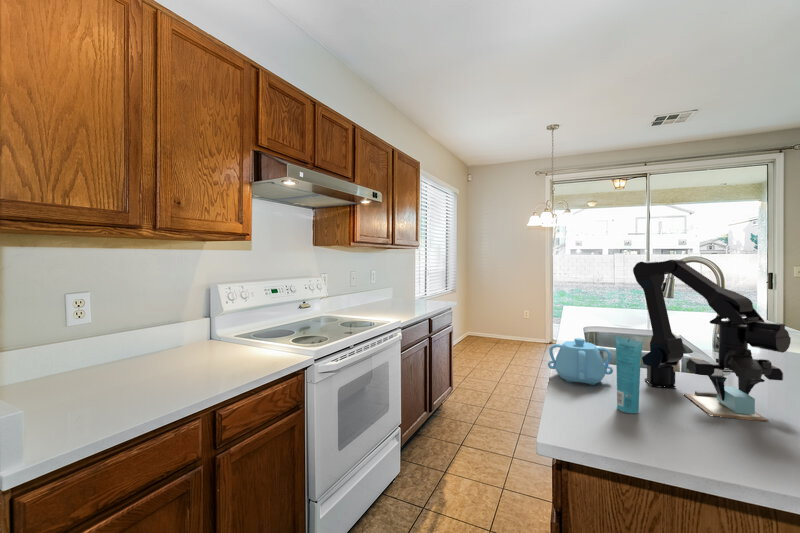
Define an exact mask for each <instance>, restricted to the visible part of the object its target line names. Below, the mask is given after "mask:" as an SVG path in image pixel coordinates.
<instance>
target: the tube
mask: <svg viewBox="0 0 800 533" xmlns="http://www.w3.org/2000/svg"><path fill="white" fill-rule="evenodd" d="M614 340H615V360H616V363H615V364H616V408H617V409H618V411H620V412H623V413H625V414H638V413H639V410H640V380H641V365H642V364H641V363H642V353H643V344H644V341H641V340H640V341H639V340H636V339H631V338H627V337H622V336H618V335H615V338H614Z"/></svg>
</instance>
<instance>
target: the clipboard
mask: <svg viewBox="0 0 800 533" xmlns="http://www.w3.org/2000/svg"><path fill="white" fill-rule="evenodd" d="M683 394H684V395H685V396H686V397H685V396H684V395H683ZM682 395H683V396H684V397H685V398H687V397H688V398H689V399H690V400H692V401H693V402H694V403H695V404H694V403H693V402H692V401H691V402H692V403H693V404H694V405H695V406H697V405H698V406H699V407H700V408H699V407H698V406H697V407H698V408H699V409H701V408H702V409H703V410H704V411H705V412H704V411H703V410H702V409H701V410H702V411H703V412H704V413H706V412H707V413H708V414H710V415H713V416H721V417H720V418H722V417H729V418H728V419H733V418H736V420H744V419H746V420H745V421H755V422H765V421H769V422H770V420H769V419H767V418H766V417H765V416H763V415H762V414H760V413H758V412H756V411H755V415H754V414H743V413H735V412H733V411H732V410H731V409H729V408H728V407H726V406H725V405H723V404H722V403H720V402H719V401H718V400H717V392H713V391H701V390H698V391H697V390H695V391H694V393H688V392H687V393H684V392H683V393H682ZM688 398H687V399H688ZM689 399H688V400H689ZM690 400H689V401H690ZM707 413H706V414H707ZM708 414H707V415H708ZM710 415H709V416H710Z"/></svg>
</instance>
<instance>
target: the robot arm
mask: <svg viewBox="0 0 800 533" xmlns="http://www.w3.org/2000/svg"><path fill="white" fill-rule="evenodd" d="M632 273H633V275H634V279H635V281H636V282H637V284H638V285H639V286H640V288H642V290H643V293H644V297H645V303H646V307H647V312H648V317H649V322H650V326H651V331H652V336H651V339H650V341H649V352H647V353H646V354H645V355H642V356H641V361H642V364H643V365H644V366H646V377H645V378H644V380H645V382H647V381H648V382H649V383H650V384H651V385H652V386H651V385H650V384H649V383H648V382H647V383H648V384H649V385H650V386H651V387H654V386H661V387H660V388H667V387H676V371H675V370H674V369H675V368H674V366H675V367H676V366H678V364H679V362H680V361H681V360H682V358H684V352H686V350H685V348H684V345H683V339H682V337H676V335H675V334H673V332H672V328H671V324H670V323H671V322H670V319H669V314H668V310H667V305H666V301H665V297H664V292H663V285H664V282H665V277H666V276H665V275H670V274H671V275H672V276H674V277H675V278H677V279H678V280H679V281H681V283H684V284H685V285H687V286H688V287H689V288H690V289H692V290H693V291H695V293H698V294H699V295H701V296H702V298H704V299H705V300H706V302H707V304H708V306H709V307H710V308H711V309H712V310H713V311H714V312H715V313H716V314H717V315H716V317H715V318H713V319H711V320H710V321H709V324H711V325H717V326H718V343H716V344H715V347H716V348H717V349H718V356H717V357H718V358H715V363H710V362H709V361H707V360H705V359H695V358H694V359H692V358H690V359H688V360H687V362H686V369H687V370H689V371H691V373H693V374H695V375H699V376H707V377H708V378H709V380H710V381H711V384H712V385H713V386H714V388H715V390H716V393H718V395H719V398H720V399H721V400H722V401H724V397H725V390H724V386H725V382H726V380H727V379H728V378H727V377H725V376H723V374H724V373H731V374H735V376H736V377H737V379H738V380H737V381H738V384H737V385H738V389H739V390H741V391H742V392H744V393H746V394H748V395H749V394H750V392H751V391H752V389H753V388H754V387H755V385H758V384H759V383H764V382H765V381H766V380H765V379H763V378H762V376H764V377H765V378H766V379H767V380H769V381H783V380H784V372H783V371H782V369H781V368H779V367H777V366H774V365H772V361H770V360H769V359H761V358H760V359H758V358H757V359H756V358H755V359H754V357H753V356H752V354H753V353H752V350H751V349H749V347H748V346H749V345H750V347H752V348H756V349H762V350H766V351H767V350H768V351H773V352H777V353H785V352H787V351H788V350H789V348H790V346H791V336H790V333H789V331H788V330H787V329H786V325H785V324H784V323H779V322H778V323H777V322H776V323H775V322H773V323H772V322H767V321H766V322H765V320H764V319H763V317H761V315H760V314H759V312H757V310H756V309H755V308H754V305H753V304H754V303H753V301H752V300H751V299H750V298H748V296H744V295H743V294H740V293H738V292H736V291H733V290H730V289H727V288H724V287H722V286H720V285H718V284H717V283H715V282H714V281H712V280H711V279H709V278H708V277H707V276H705V275H703V273H700V272H699V271H698V270H696V269H695V268H693V267H692V266H690V265H689V264H687V262H686V261H684V260H683V259H668V260H664V261H656V260H655V261H639V262H637V263H635V265H634V266H633V268H632ZM664 386H665V387H664Z"/></svg>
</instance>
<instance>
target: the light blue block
mask: <svg viewBox="0 0 800 533" xmlns="http://www.w3.org/2000/svg"><path fill="white" fill-rule="evenodd" d="M724 390H725V397H724V401H722V400H721V399H720V398H719V395H718V393H717V392H716V393H717V400H718V401H719V402H720V403H722V404H723V405H725V406H726V407H728V408H729V409H731V410H732V411H733V412H735V413H743V414H754V415H755V412H756V399H755V397H753V396H751V395H749V394H746V393H744V392H742V391H741V390H739V388H737V387H735V386H725V385H724Z"/></svg>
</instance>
